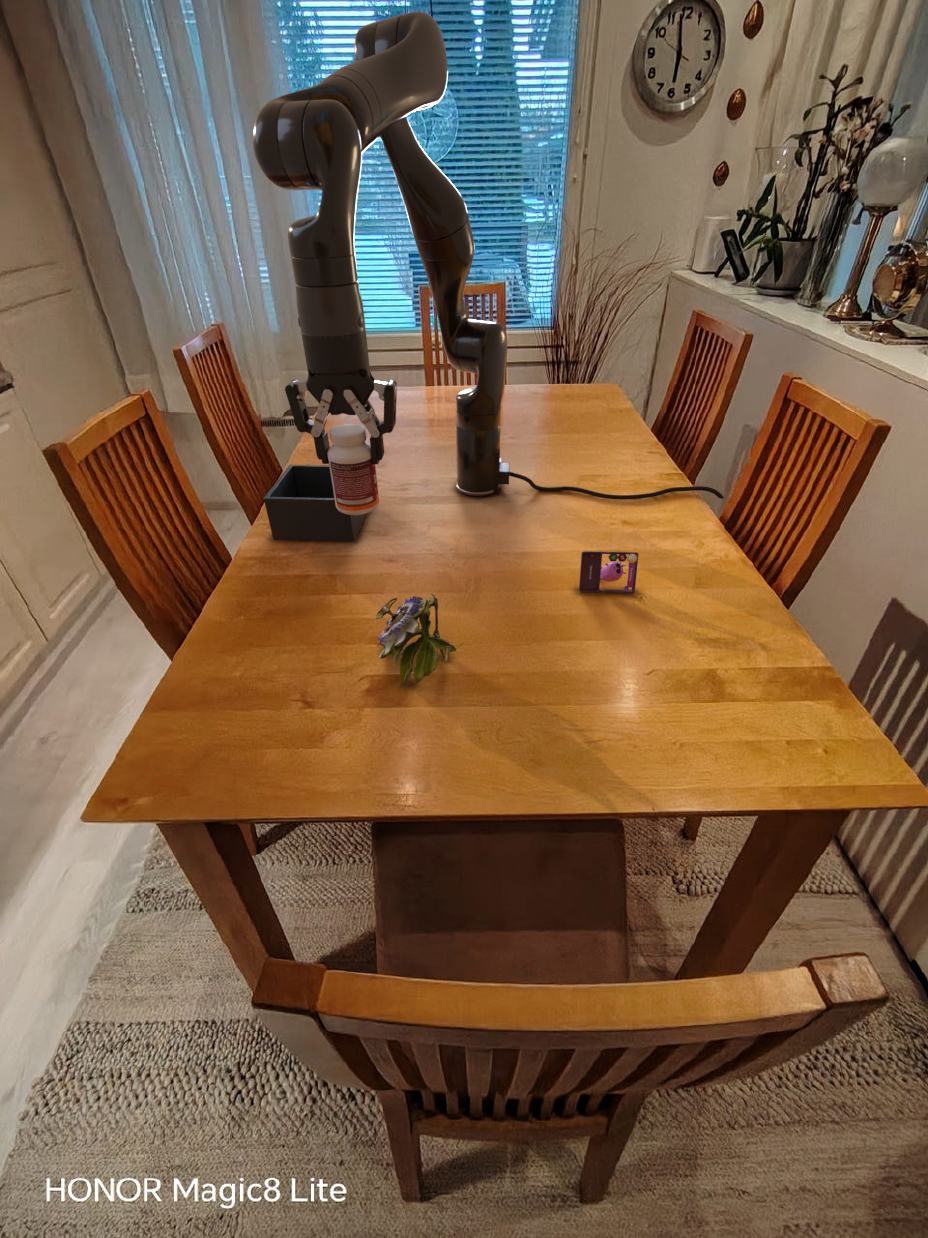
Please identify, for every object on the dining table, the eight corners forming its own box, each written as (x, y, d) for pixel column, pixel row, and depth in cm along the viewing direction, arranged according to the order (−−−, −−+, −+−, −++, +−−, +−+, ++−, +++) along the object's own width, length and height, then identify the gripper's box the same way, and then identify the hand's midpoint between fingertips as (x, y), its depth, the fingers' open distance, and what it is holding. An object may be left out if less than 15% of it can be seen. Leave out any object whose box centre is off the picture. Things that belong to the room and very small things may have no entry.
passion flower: (395, 679, 88) (384, 600, 88) (466, 670, 87) (455, 589, 87) (373, 691, 77) (360, 601, 77) (453, 682, 76) (441, 589, 75)
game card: (582, 552, 94) (639, 553, 94) (578, 546, 99) (632, 547, 99) (579, 593, 96) (635, 594, 96) (575, 585, 101) (628, 586, 101)
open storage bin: (370, 504, 123) (365, 465, 118) (354, 541, 111) (348, 500, 106) (297, 502, 124) (289, 464, 119) (273, 539, 112) (263, 498, 107)
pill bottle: (387, 508, 83) (379, 431, 76) (347, 521, 80) (335, 442, 73) (367, 492, 87) (358, 418, 80) (328, 503, 84) (316, 427, 77)
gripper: (398, 319, 72) (408, 451, 82) (282, 319, 72) (306, 450, 83) (388, 333, 66) (400, 474, 76) (262, 333, 67) (291, 472, 77)
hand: (351, 461), depth 79 cm, fingers closed on pill bottle, 6 cm apart
